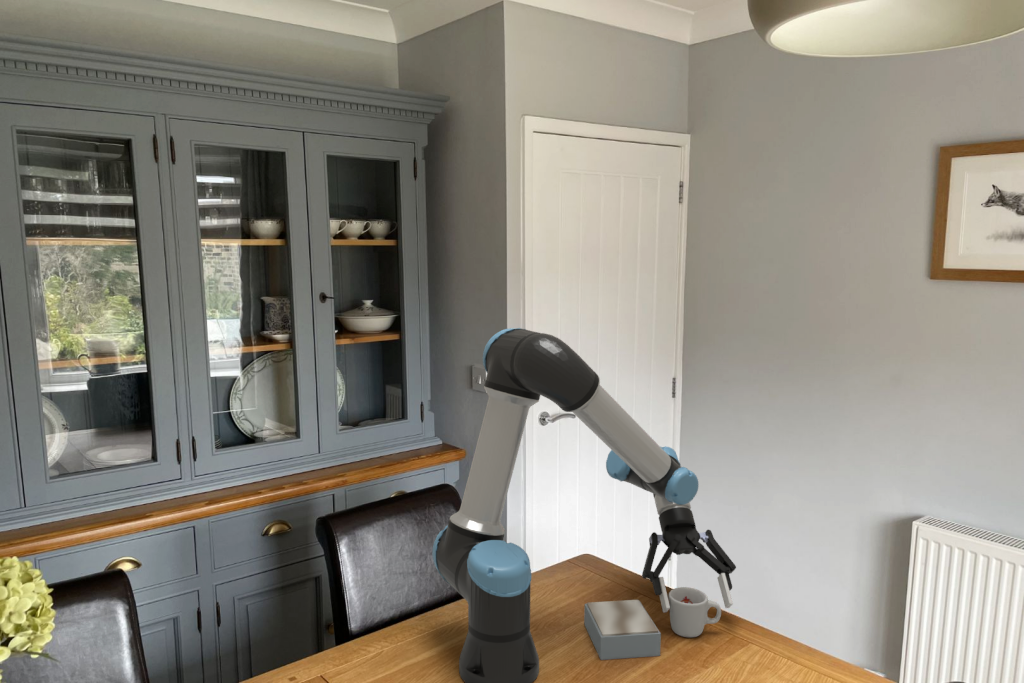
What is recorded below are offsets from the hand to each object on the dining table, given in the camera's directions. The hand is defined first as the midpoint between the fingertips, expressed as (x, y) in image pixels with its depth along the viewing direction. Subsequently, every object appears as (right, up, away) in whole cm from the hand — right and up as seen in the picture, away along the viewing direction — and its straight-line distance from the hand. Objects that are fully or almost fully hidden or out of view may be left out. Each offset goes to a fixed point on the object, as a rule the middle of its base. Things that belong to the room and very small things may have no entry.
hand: (698, 608), depth 154 cm
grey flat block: (-16, -6, -2) cm, 17 cm away
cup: (-1, -6, +1) cm, 6 cm away
